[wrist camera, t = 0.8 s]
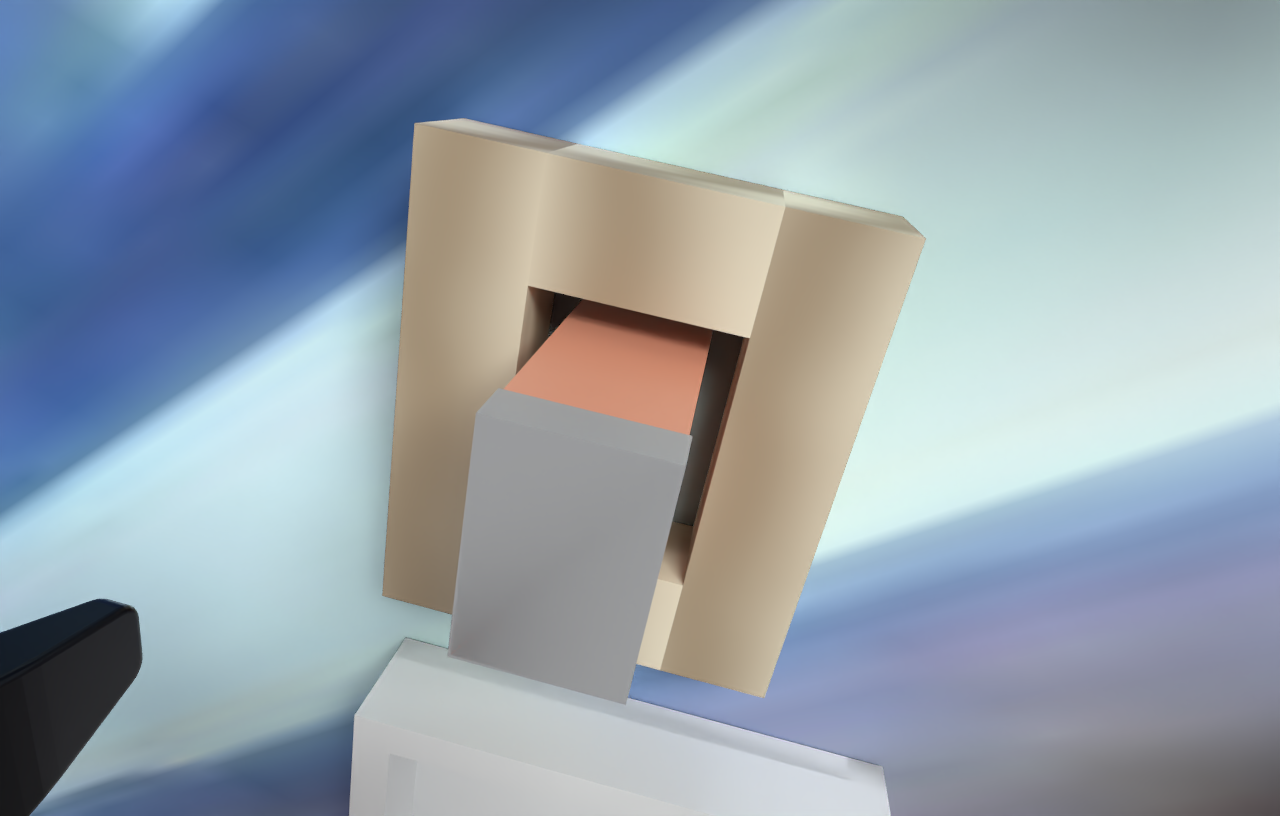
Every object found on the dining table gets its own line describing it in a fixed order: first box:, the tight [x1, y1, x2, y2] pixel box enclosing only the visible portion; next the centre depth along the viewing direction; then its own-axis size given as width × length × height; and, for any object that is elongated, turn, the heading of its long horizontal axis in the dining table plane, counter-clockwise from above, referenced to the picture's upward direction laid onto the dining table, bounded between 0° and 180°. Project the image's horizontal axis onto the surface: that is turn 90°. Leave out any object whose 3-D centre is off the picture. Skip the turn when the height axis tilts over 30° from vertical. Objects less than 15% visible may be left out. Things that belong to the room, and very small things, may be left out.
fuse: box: [447, 299, 713, 705], centre depth 15 cm, size 3×5×7 cm
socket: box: [382, 118, 926, 698], centre depth 17 cm, size 9×11×2 cm
